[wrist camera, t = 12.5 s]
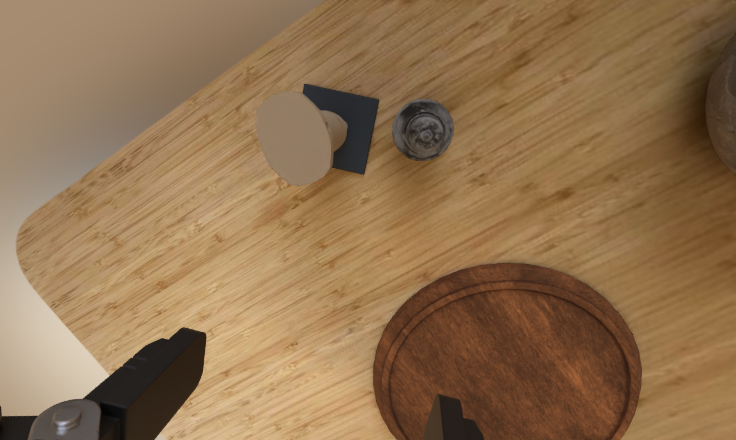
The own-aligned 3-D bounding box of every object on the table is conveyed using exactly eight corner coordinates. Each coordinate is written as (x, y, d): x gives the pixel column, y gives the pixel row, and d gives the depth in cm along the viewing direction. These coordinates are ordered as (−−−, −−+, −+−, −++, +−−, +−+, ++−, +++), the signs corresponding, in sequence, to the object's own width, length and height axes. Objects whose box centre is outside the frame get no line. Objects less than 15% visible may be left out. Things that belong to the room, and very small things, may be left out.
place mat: (305, 84, 40) (304, 83, 39) (379, 99, 39) (378, 99, 39) (294, 158, 42) (293, 159, 42) (364, 173, 42) (363, 174, 41)
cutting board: (470, 512, 54) (473, 531, 51) (323, 356, 49) (319, 369, 46) (689, 406, 46) (705, 423, 43) (538, 207, 41) (546, 214, 38)
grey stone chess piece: (433, 165, 41) (444, 187, 29) (384, 143, 40) (375, 155, 29) (459, 114, 39) (481, 115, 27) (408, 90, 39) (408, 81, 27)
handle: (324, 165, 41) (281, 194, 27) (301, 109, 40) (243, 107, 26) (365, 150, 40) (343, 171, 26) (343, 91, 39) (306, 80, 25)
